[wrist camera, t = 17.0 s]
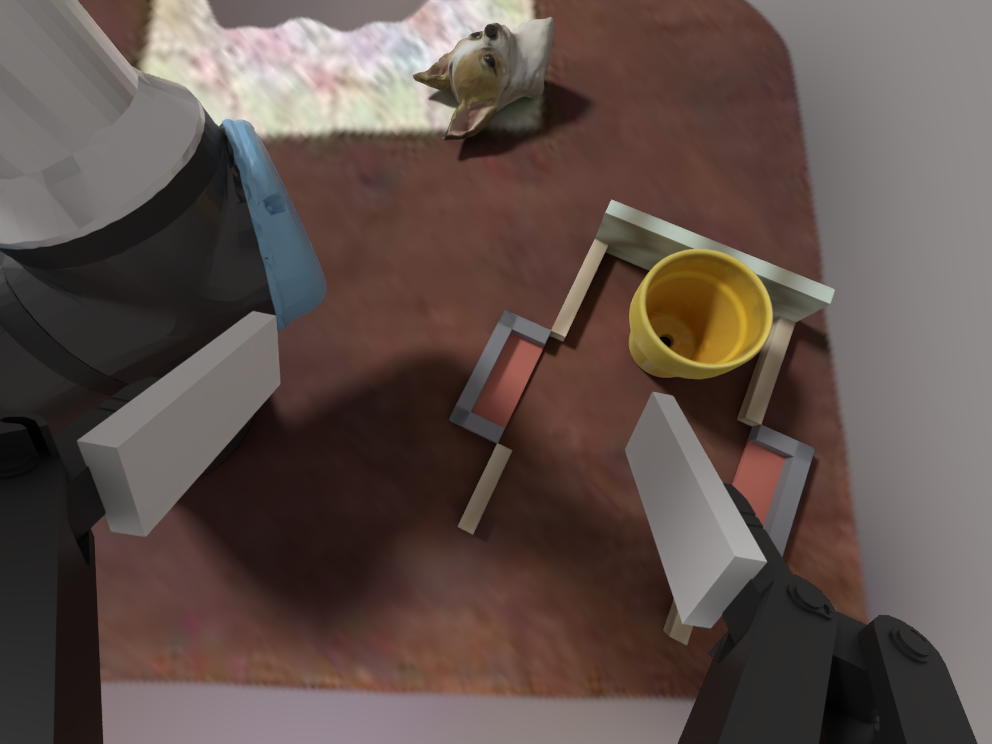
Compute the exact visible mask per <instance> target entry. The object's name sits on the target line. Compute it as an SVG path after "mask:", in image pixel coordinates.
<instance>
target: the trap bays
mask: <svg viewBox="0 0 992 744" xmlns="http://www.w3.org/2000/svg"><path fill="white" fill-rule="evenodd" d="M550 333H551V330H549V329H547V328H544V327H542V326H540V325H538V324H535V323H533V322H531V321H529V320H526V319H524V318H522V317H520V316H517V315H515V314H513V313H511V312H509V311H506V310H504V312H503V314H502V316H501V318H500V320H499V322H498V324H497V326H496V328H495V330H494V332H493V334H492V336H491V337H490V339H489V341H488V343H487V345H486V347H485V349H484V351H483V353H482V355H481V357H480V359H479V361H478V363H477V365H476V367H475V369H474V371H473V373H472V375H471V377H470V379H469V381H468V382H467V384H466V386H465V388H464V390H463V392H462V394H461V396H460V398H459V400H458V402H457V404H456V406H455V408H454V410H453V412H452V414H451V416H450V418H449V420H450V421H451V422H453V423H455V424H457V425H459V426H461V427H463V428H465V429H467V430H469V431H471V432H473V433H475V434H477V435H479V436H481V437H483V438H485V439H487V440H489V441H492V442H494V443H496V444H497V443H498V442H499V440H500V438H501V436H502V434H503V432H504V430H505V428H506V426H507V424H508V421H509V419H510V417H511V415H512V413H513V411H514V409H515V407H516V405H517V403H518V400H519V398H520V396H521V394H522V392H523V390H524V388H525V386H526V384H527V382H528V380H529V377H530V375H531V373H532V371H533V369H534V367H535V365H536V363H537V361H538V359H539V356H540V354H541V352H542V350H543V348H544V346H545V344H546V342H547V340H548V338H549V335H550ZM814 451H815V448H813V447H810V446H808V445H806V444H804V443H801V442H799V441H797V440H795V439H792V438H790V437H788V436H786V435H783V434H781V433H779V432H777V431H775V430H772V429H770V428H768V427H766V426H763V425H757V426H752V428H751V431H750V434H749V437H748V440H747V442H746V445H745V448H744V451H743V454H742V457H741V460H740V463H739V466H738V469H737V472H736V475H735V478H734V481H733V484H732V485H733V486H734V487H735V488H736V489H737V490H738V491H739V492H740V493H741V494H742V495H743V496H744V497H745V498H746V499H747V500H748V502H749V504H750V505H751V507H752V508H753V510H754V512H755V513H756V517H758V518H759V520H760V522H761V523H762V525H763V529H764V530H766V532H767V533H768V535H769V536H770V538H771V540H772V541H773V543H774V545H775V546H776V548H777V550H778V551H779V553H780V555H781V556H783V553H784V550H785V546H786V543H787V540H788V537H789V533H790V530H791V527H792V523H793V520H794V517H795V513H796V510H797V507H798V504H799V500H800V497H801V494H802V490H803V487H804V484H805V480H806V477H807V474H808V470H809V467H810V464H811V461H812V457H813V454H814Z"/></svg>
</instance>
